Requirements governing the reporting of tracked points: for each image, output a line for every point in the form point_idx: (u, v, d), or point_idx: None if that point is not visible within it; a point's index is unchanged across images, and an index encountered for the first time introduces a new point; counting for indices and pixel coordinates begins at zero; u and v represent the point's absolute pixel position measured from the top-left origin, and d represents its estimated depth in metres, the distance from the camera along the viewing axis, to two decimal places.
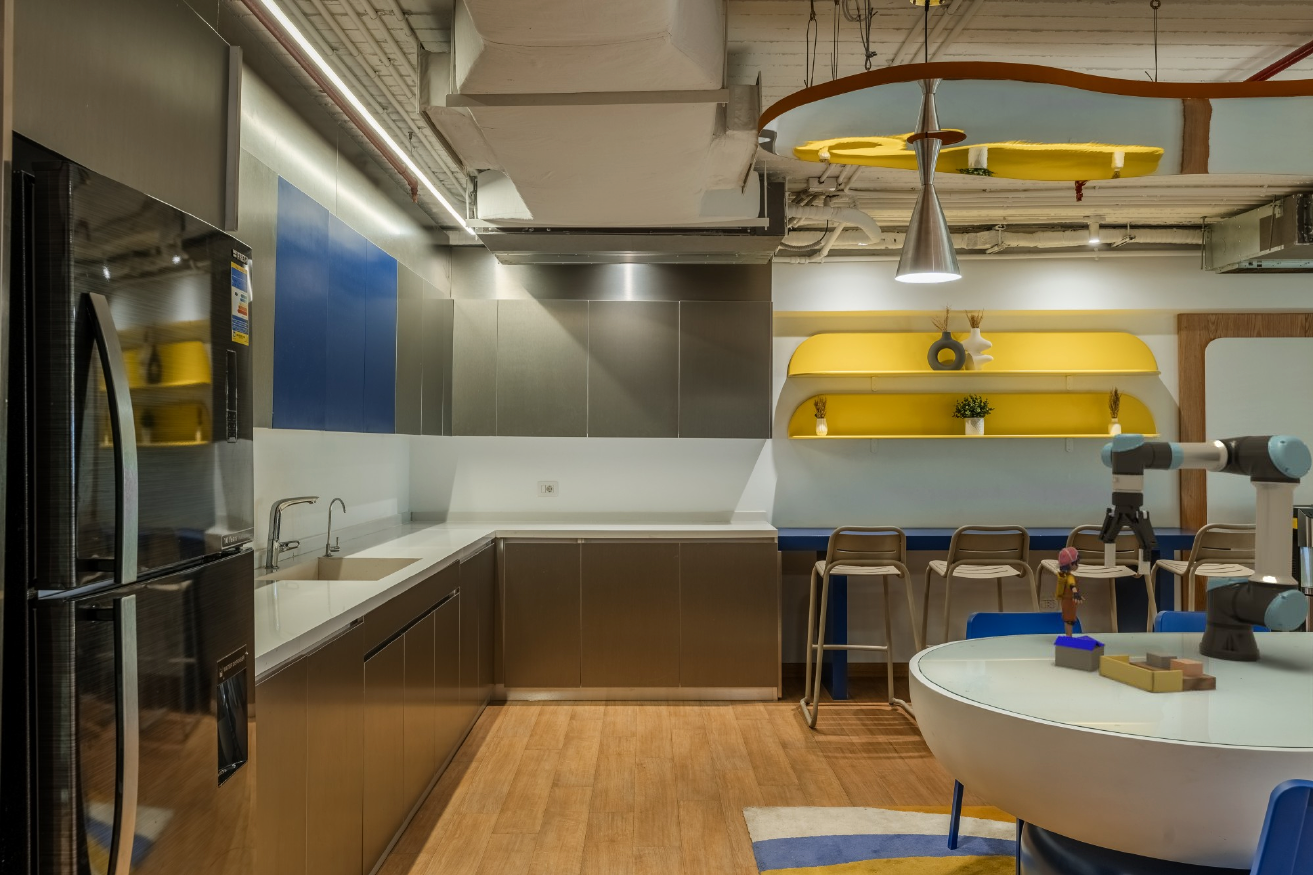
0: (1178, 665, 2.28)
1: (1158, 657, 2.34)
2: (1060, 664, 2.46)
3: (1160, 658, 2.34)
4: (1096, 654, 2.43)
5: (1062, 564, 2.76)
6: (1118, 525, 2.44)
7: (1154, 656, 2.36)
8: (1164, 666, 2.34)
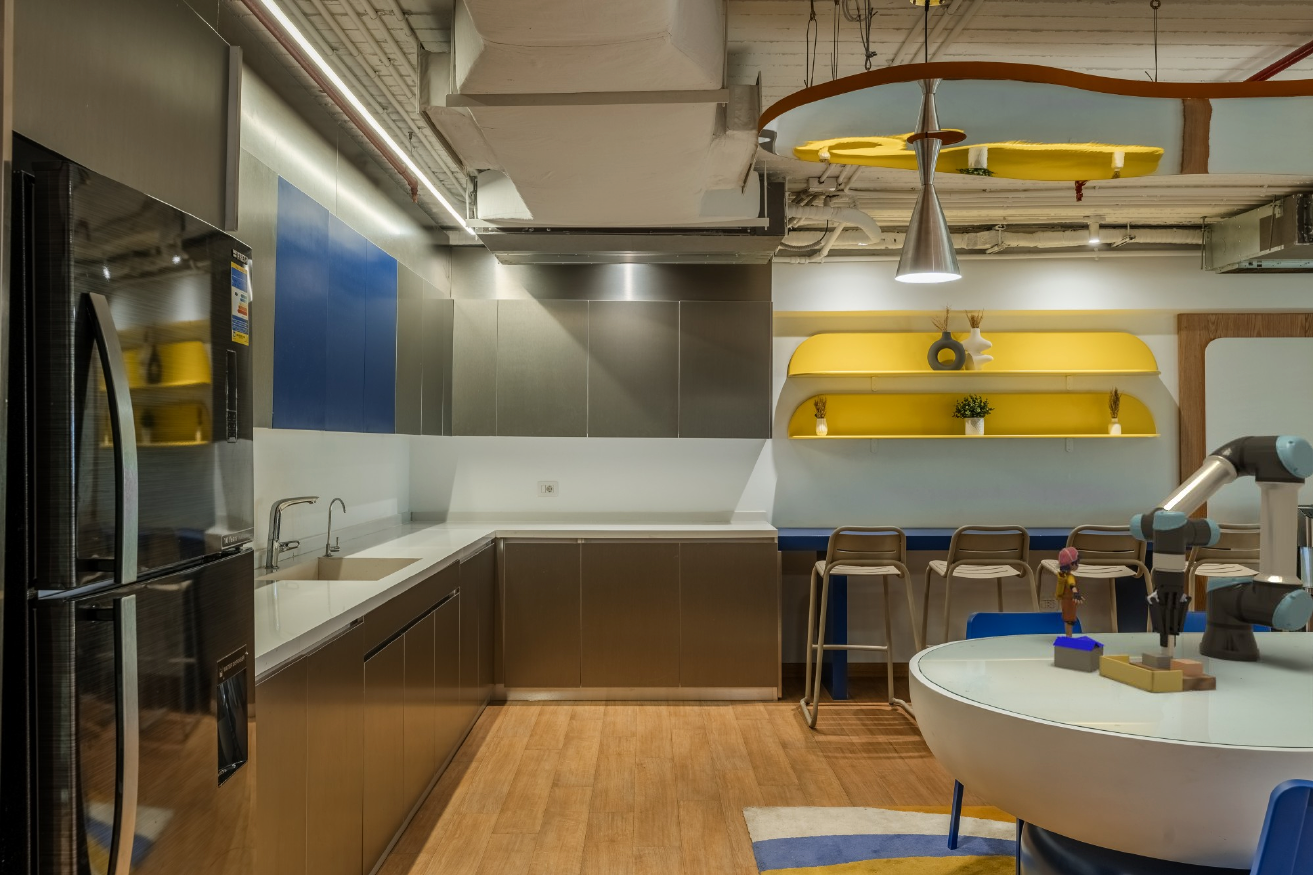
0: (1178, 665, 2.28)
1: (1154, 657, 2.34)
2: (1059, 664, 2.45)
3: (1156, 658, 2.33)
4: (1095, 655, 2.43)
5: (1062, 564, 2.76)
6: None
7: (1150, 656, 2.35)
8: (1160, 666, 2.33)
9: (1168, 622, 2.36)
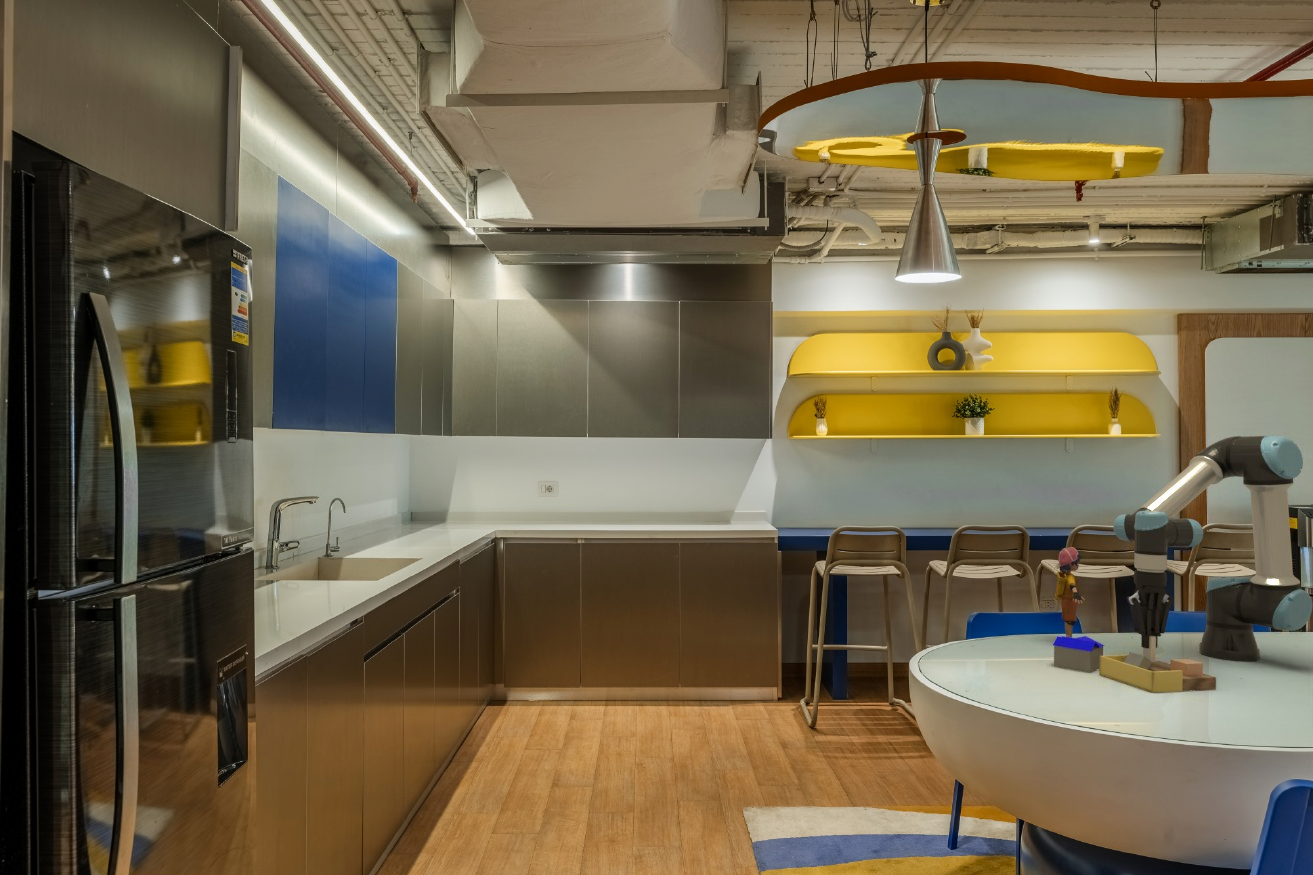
0: (1178, 665, 2.28)
1: None
2: (1059, 665, 2.45)
3: None
4: (1095, 655, 2.43)
5: (1062, 564, 2.76)
6: None
7: None
8: None
9: (1149, 623, 2.34)
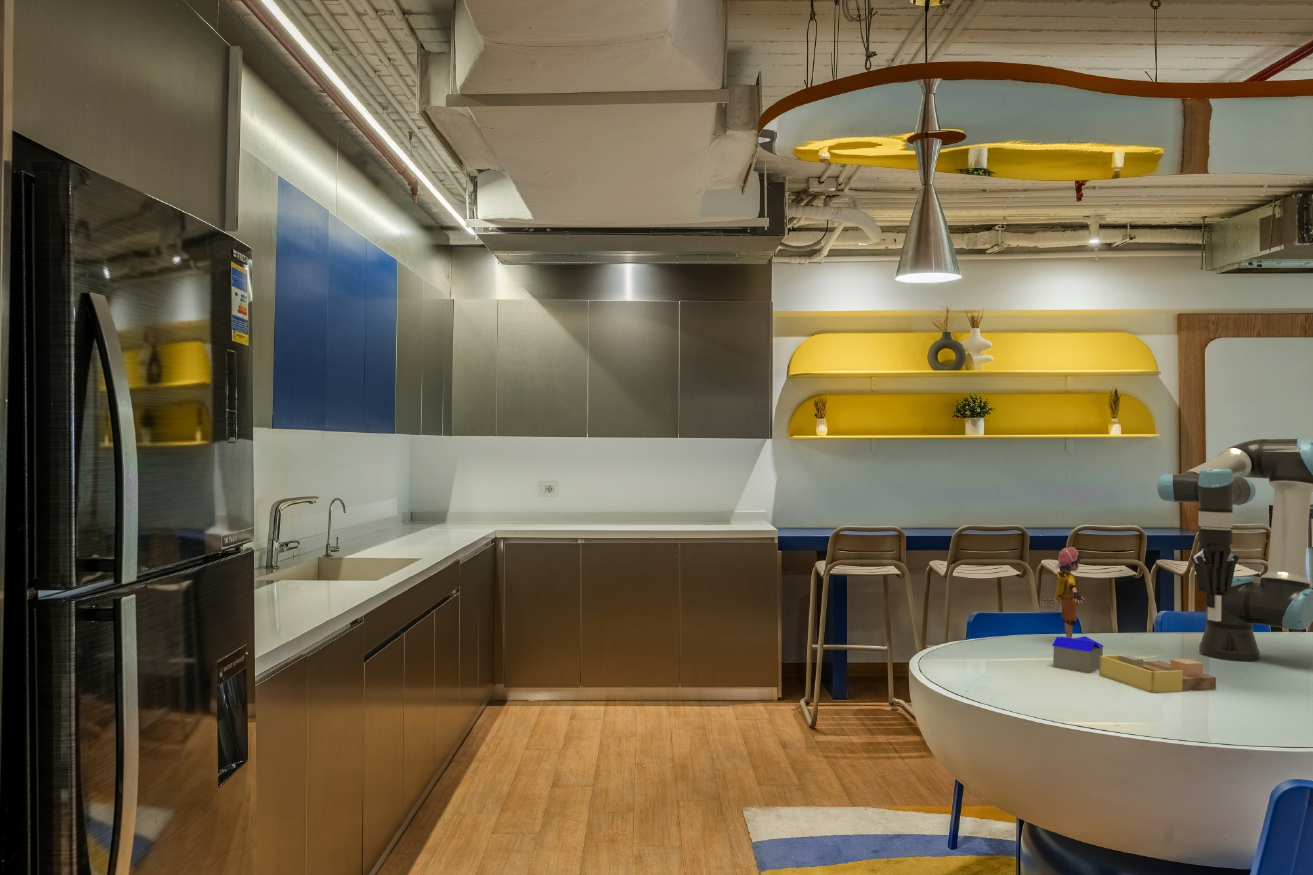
0: (1178, 665, 2.28)
1: None
2: (1058, 665, 2.45)
3: None
4: (1094, 655, 2.42)
5: (1062, 564, 2.76)
6: None
7: None
8: None
9: (1214, 582, 2.30)
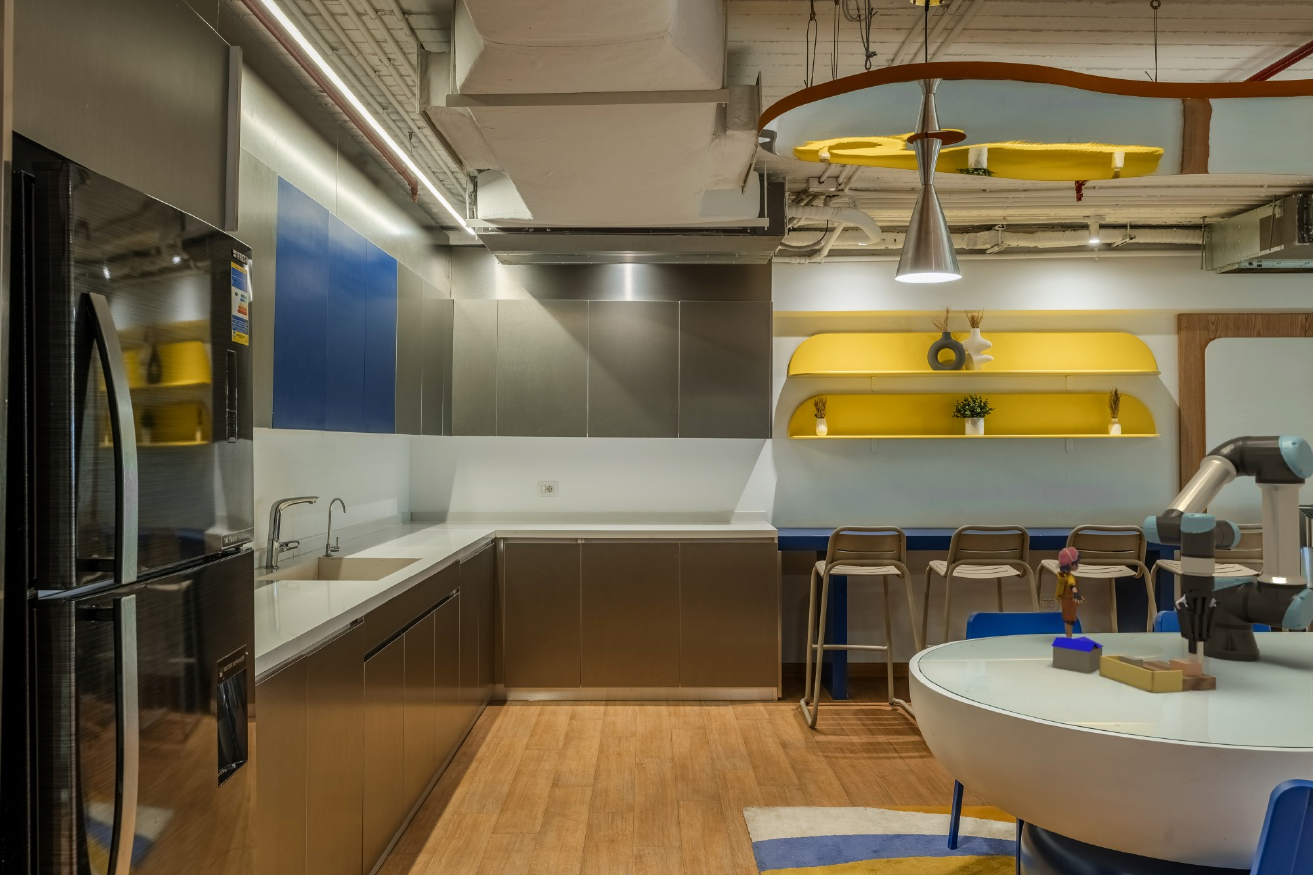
0: (1177, 665, 2.28)
1: None
2: (1058, 665, 2.44)
3: None
4: (1094, 655, 2.42)
5: (1062, 564, 2.76)
6: None
7: None
8: None
9: (1196, 628, 2.28)
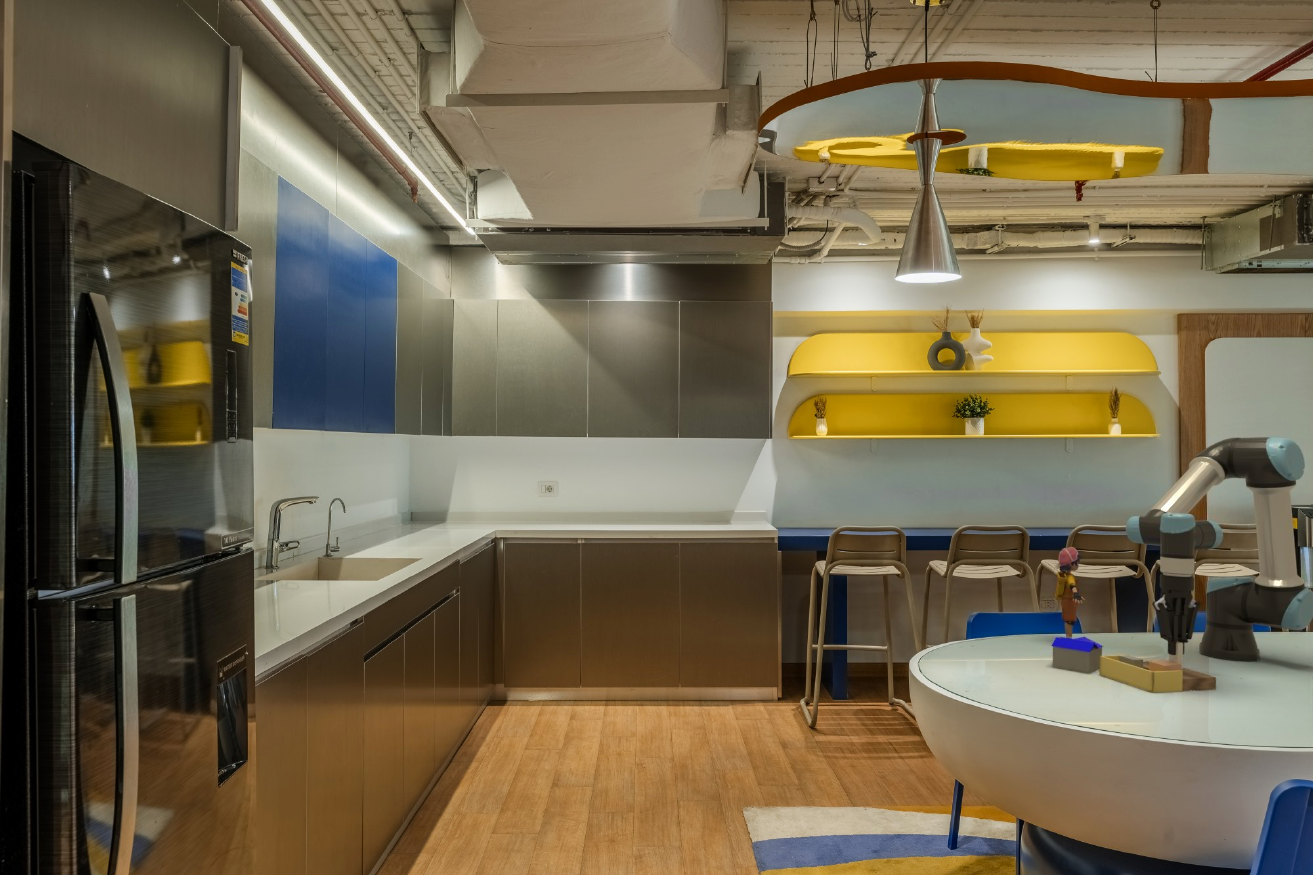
0: (1156, 667, 2.27)
1: None
2: (1057, 665, 2.44)
3: None
4: (1094, 655, 2.42)
5: (1062, 564, 2.76)
6: None
7: None
8: None
9: (1176, 629, 2.27)
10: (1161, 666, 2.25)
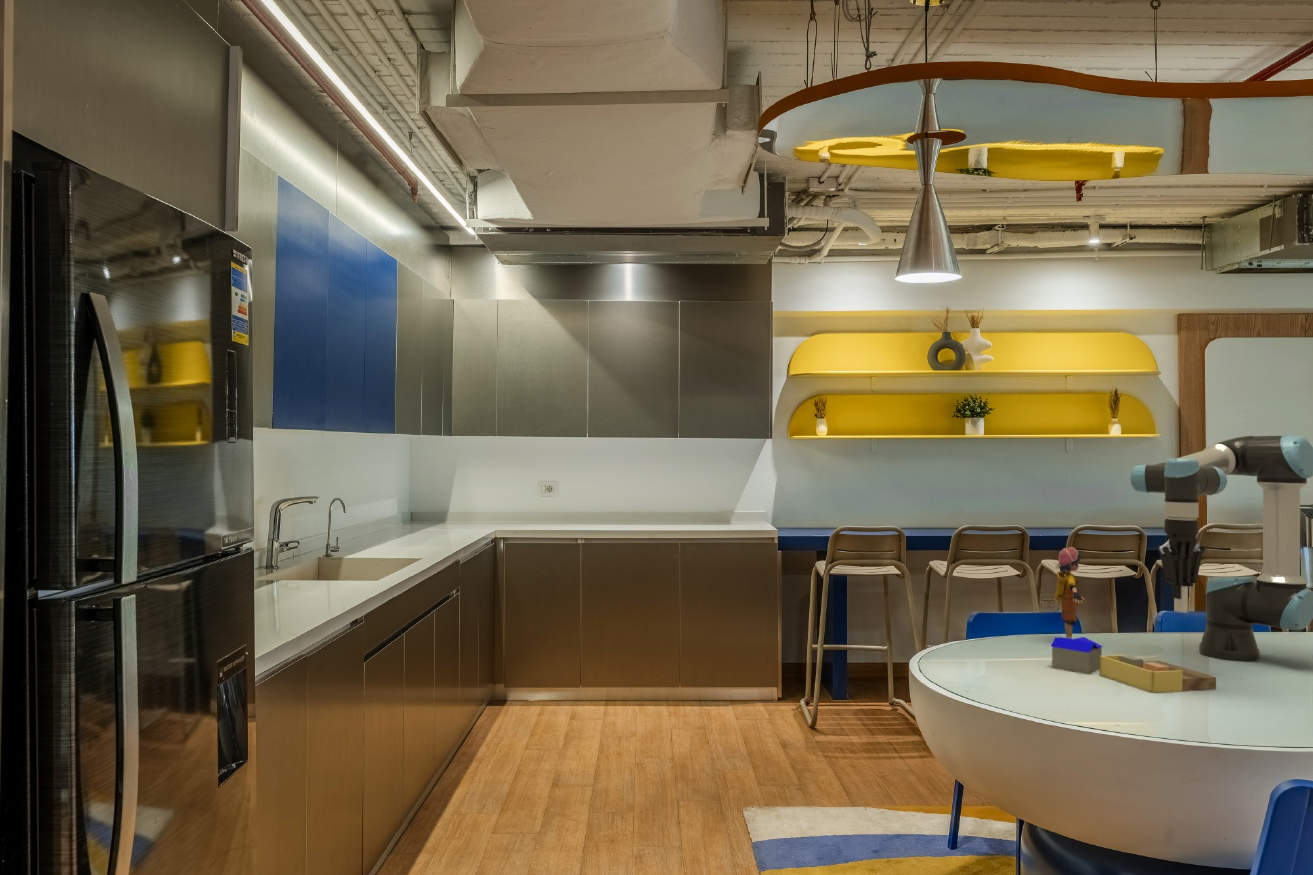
0: None
1: None
2: (1057, 666, 2.44)
3: None
4: (1093, 656, 2.41)
5: (1062, 564, 2.76)
6: None
7: None
8: None
9: (1181, 573, 2.28)
10: None
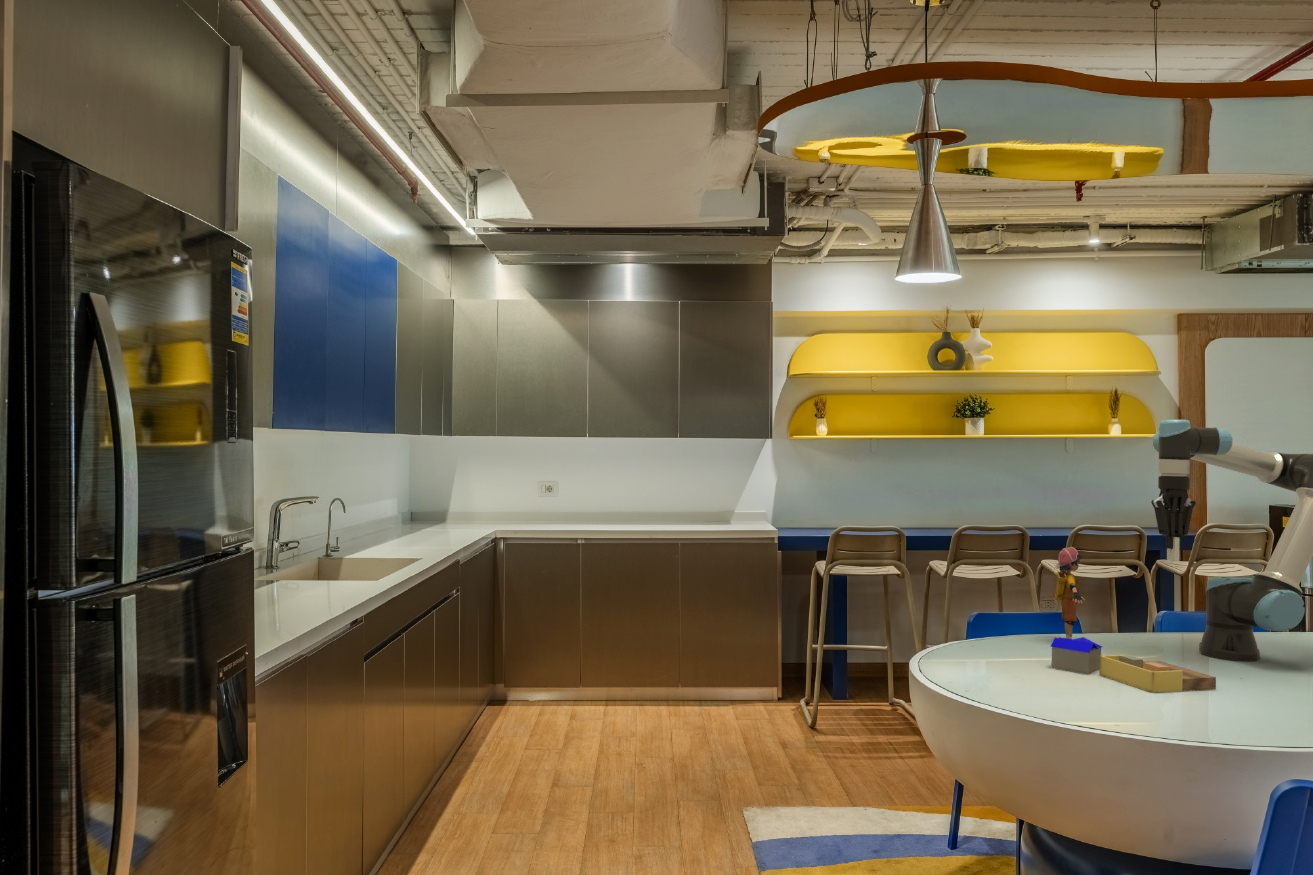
0: None
1: None
2: (1057, 666, 2.43)
3: None
4: (1093, 656, 2.41)
5: (1062, 564, 2.76)
6: None
7: None
8: None
9: (1173, 525, 2.47)
10: None
